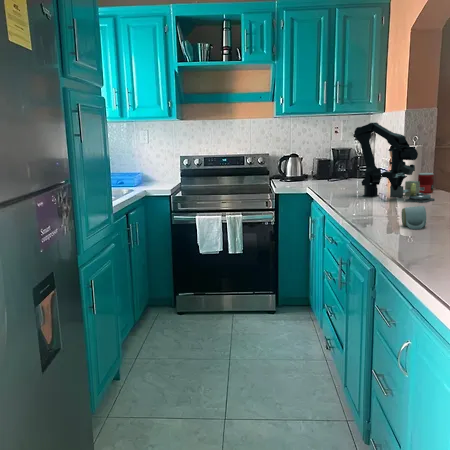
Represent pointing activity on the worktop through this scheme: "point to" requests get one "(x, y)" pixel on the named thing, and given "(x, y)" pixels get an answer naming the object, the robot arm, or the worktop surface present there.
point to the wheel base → (420, 200)
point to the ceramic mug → (414, 217)
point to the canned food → (426, 182)
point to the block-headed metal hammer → (398, 192)
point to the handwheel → (419, 195)
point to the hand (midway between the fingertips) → (396, 189)
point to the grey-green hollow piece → (407, 185)
